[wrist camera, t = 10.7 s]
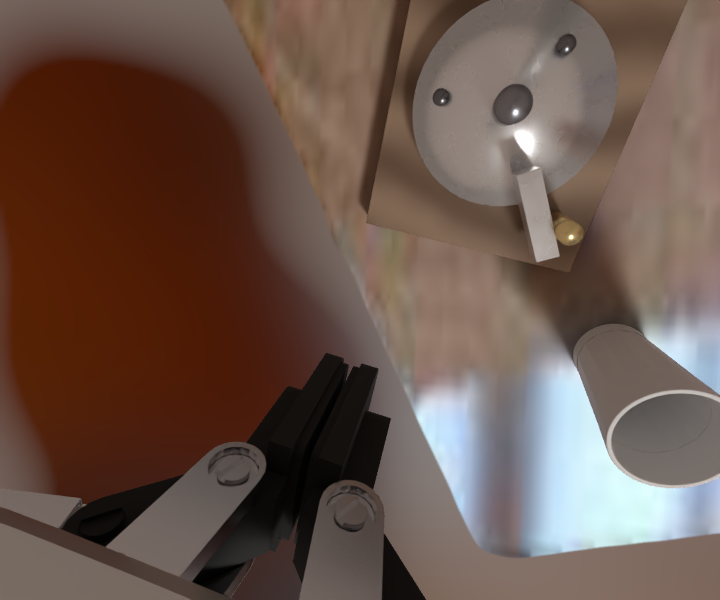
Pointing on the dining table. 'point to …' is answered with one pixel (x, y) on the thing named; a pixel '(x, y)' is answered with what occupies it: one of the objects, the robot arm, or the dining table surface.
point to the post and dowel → (512, 110)
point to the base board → (573, 199)
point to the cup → (649, 409)
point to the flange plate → (542, 125)
